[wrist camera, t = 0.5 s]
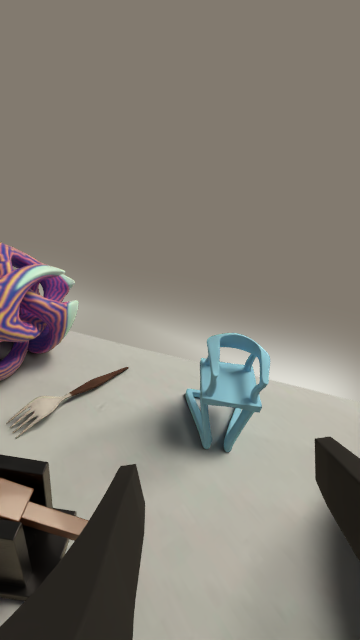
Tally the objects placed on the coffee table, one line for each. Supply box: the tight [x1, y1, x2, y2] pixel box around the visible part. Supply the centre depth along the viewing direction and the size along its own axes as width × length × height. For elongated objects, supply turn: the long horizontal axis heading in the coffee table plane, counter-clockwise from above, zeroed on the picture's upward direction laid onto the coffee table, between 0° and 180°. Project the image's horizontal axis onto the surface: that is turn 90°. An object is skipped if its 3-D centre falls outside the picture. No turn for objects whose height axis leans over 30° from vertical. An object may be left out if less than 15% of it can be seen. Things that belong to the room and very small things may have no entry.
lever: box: [0, 478, 88, 541], centre depth 22 cm, size 12×3×3 cm, turn 86°
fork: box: [6, 367, 128, 438], centre depth 38 cm, size 3×16×2 cm, turn 138°
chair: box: [186, 333, 270, 452], centre depth 36 cm, size 8×8×12 cm
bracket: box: [0, 455, 76, 601], centre depth 23 cm, size 8×6×9 cm
